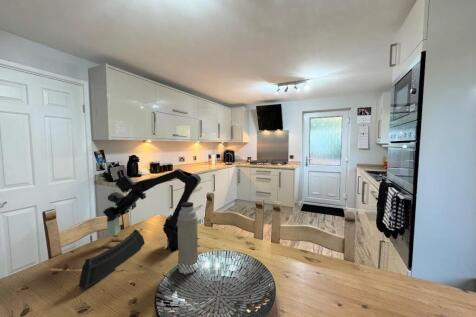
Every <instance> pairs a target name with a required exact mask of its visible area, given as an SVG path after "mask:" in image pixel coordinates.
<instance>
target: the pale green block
mask: <svg viewBox="0 0 476 317" xmlns="http://www.w3.org/2000/svg"><path fill="white" fill-rule="evenodd" d="M107 219H108V217H107V216H106V231H107V233H106V234H107V235H108V236H115V235H118V234H119V233H120V230H121V229H120V217H119V218H117V219H115V220H114V221H110V222H108V221H107Z"/></svg>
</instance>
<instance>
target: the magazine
mask: <svg viewBox="0 0 476 317" xmlns="http://www.w3.org/2000/svg"><path fill="white" fill-rule="evenodd" d="M118 243H119V242H118ZM118 243H117V244H116V245H115V246H114V247H112V248H108V249H107V250H104V251H103V252H102V253H99V254H97V255H95V256H93V257H89V258H86V259H85V261H84V263H83V265H82V268H81V272H80V273H81V274H80V278H79V282H78V288H79V289H83V290H84V289H85V290H86V289H87V288H89V287H90V286H92V285H94V284H96V283H97V282H99V281H101V280H102V279H104V278H106V277H107V276H109V275H111V274H112V273H113V272H115V271H116V270H117V269H116V268H118V267H120V265H123V263H125V262H126V261H128V260H129V259H130V258H132V257H133V256H134V255H136V253H138V252H139V251H140V249H141V248H142V247H144V245H145V240H144V236H143V235H142V234H141V232H140V230H138V229H134V230H133V231H132V232H131V233H130V234H129V235H128V236H126V237H125V238H124V239H123V241H121V242H120V243H119V244H118Z"/></svg>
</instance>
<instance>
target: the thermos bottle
mask: <svg viewBox="0 0 476 317" xmlns="http://www.w3.org/2000/svg"><path fill="white" fill-rule="evenodd" d="M181 206H182V207H181V211H180V212H179V216H178V250H177V251H178V252H177V257H178V258H177V265H178V264H180V263H182V264H184V265H189V266H190V265H193V264H195V263H196V262H197V260H198V261H199V259H198V256H199V255H198V254H199V252H198V248H199V246H198V245H199V244H198V240H199V239H198V238H199V237H198V230H199V228H198V215H197V212H196V210H195V209H194V202H191V201H188V202H185V203H182V204H181Z"/></svg>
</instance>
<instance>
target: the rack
mask: <svg viewBox="0 0 476 317" xmlns="http://www.w3.org/2000/svg"><path fill="white" fill-rule="evenodd" d="M123 240H124V239H123V238H111V239H110V240H109V241H107V242H105V243H104V244H103V245H101V249H110V248H112V247H114V246H116V245H113V244H112V245H111V243H112V242H118V243H119V242H121V241H123Z"/></svg>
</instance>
